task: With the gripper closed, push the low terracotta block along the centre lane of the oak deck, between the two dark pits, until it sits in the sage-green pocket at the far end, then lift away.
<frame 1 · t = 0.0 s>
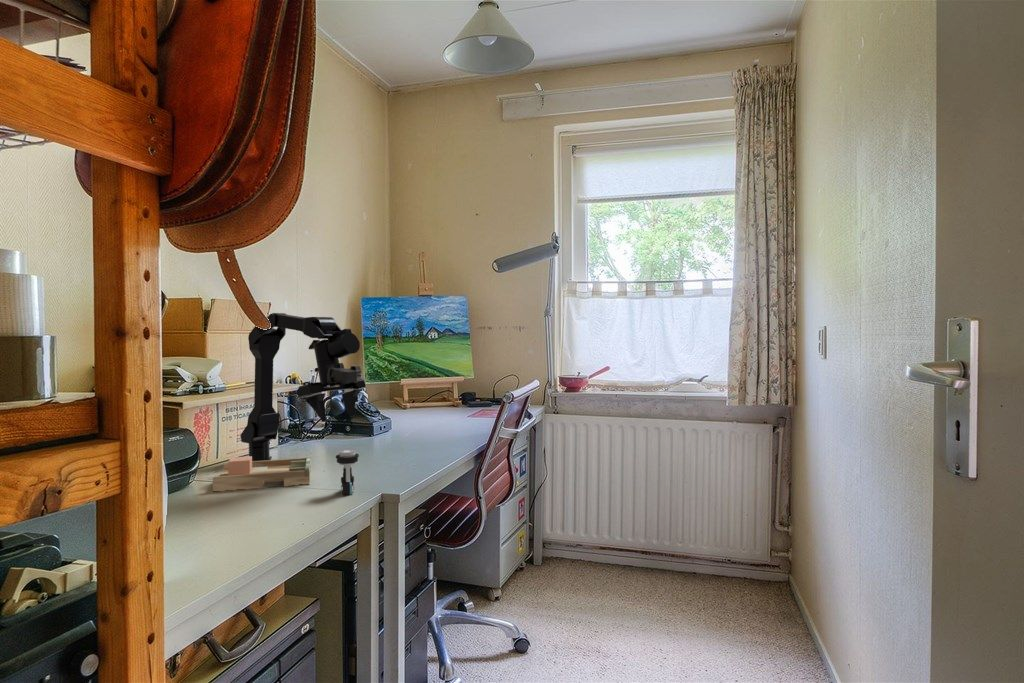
hand: (338, 419, 154), 15 cm above the table, tool pointing down, fingers open, 9 cm apart
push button: (347, 492, 140), on the table
deck: (265, 480, 151), on the table
block: (240, 474, 149), point 2 cm above the table, touching deck
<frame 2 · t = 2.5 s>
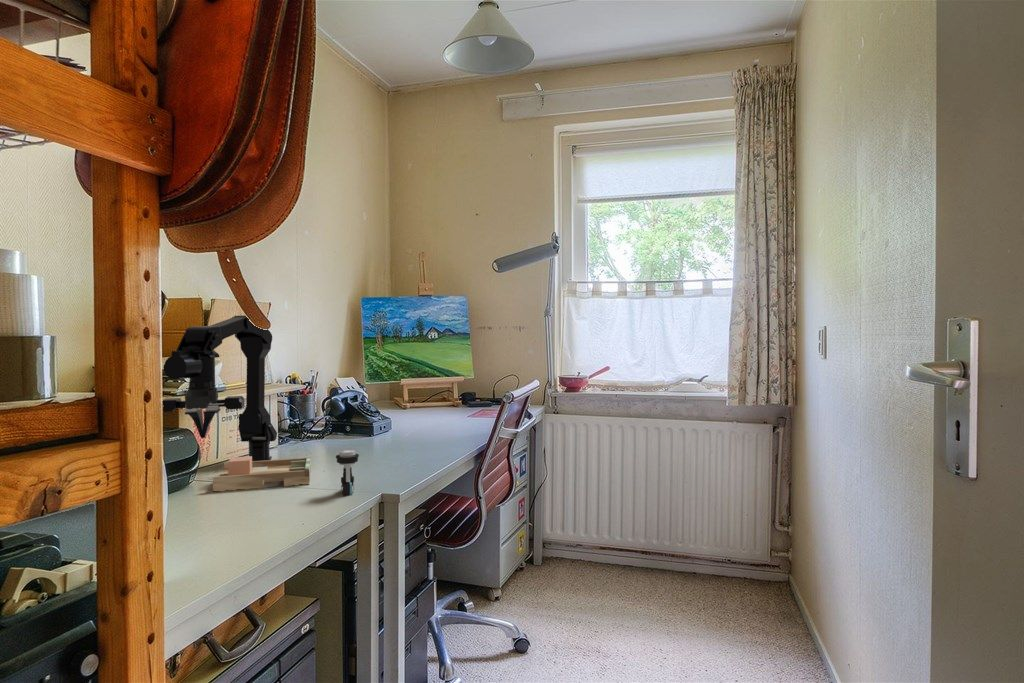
hand: (203, 437, 146), 12 cm above the table, tool pointing down, fingers closed
nothing on the table moved.
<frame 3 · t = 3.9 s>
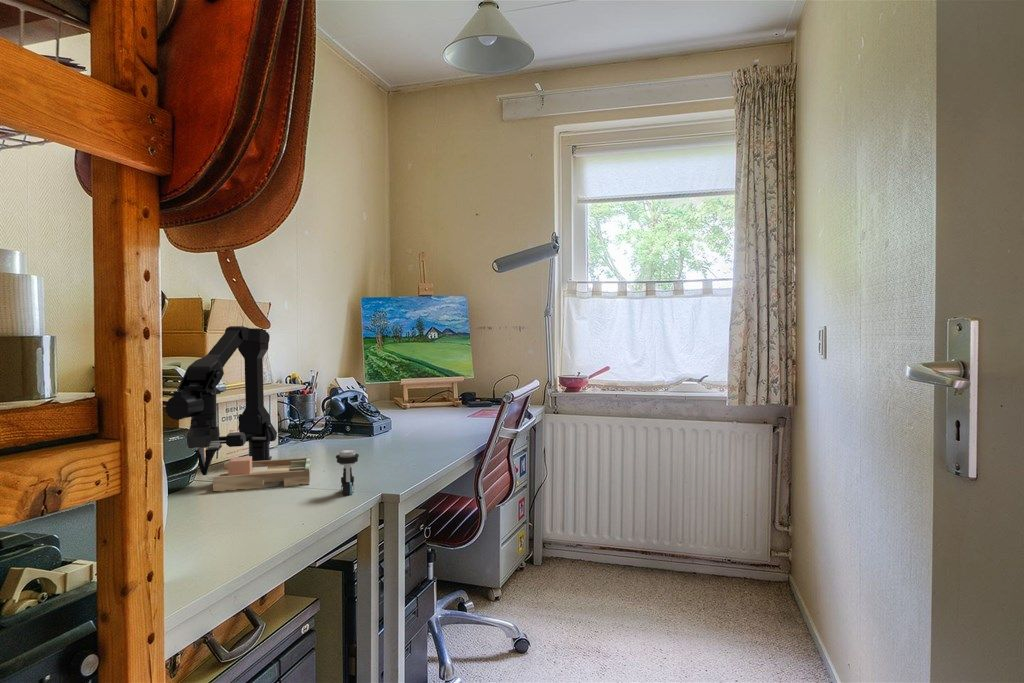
hand: (204, 474, 146), 2 cm above the table, tool pointing down, fingers closed
nothing on the table moved.
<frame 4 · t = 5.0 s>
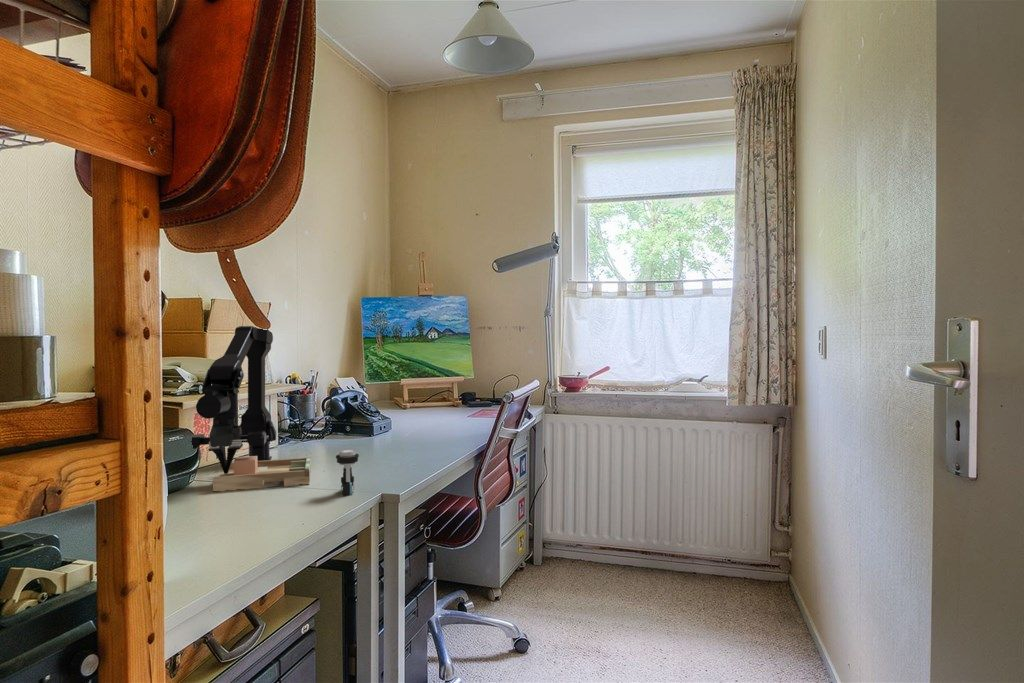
hand: (226, 473, 148), 3 cm above the table, tool pointing down, fingers closed
block: (245, 473, 149), point 2 cm above the table, touching deck, gripper
everything else where it was.
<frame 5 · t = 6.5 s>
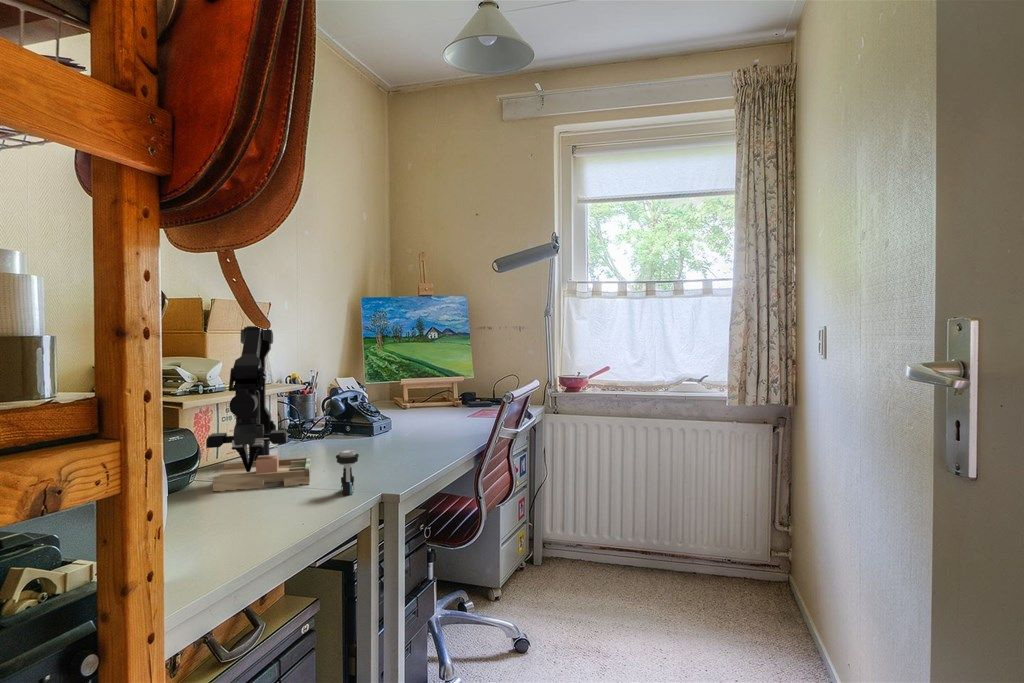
hand: (248, 471, 149), 3 cm above the table, tool pointing down, fingers closed
block: (267, 472, 151), point 2 cm above the table, touching deck, gripper
everything else where it was.
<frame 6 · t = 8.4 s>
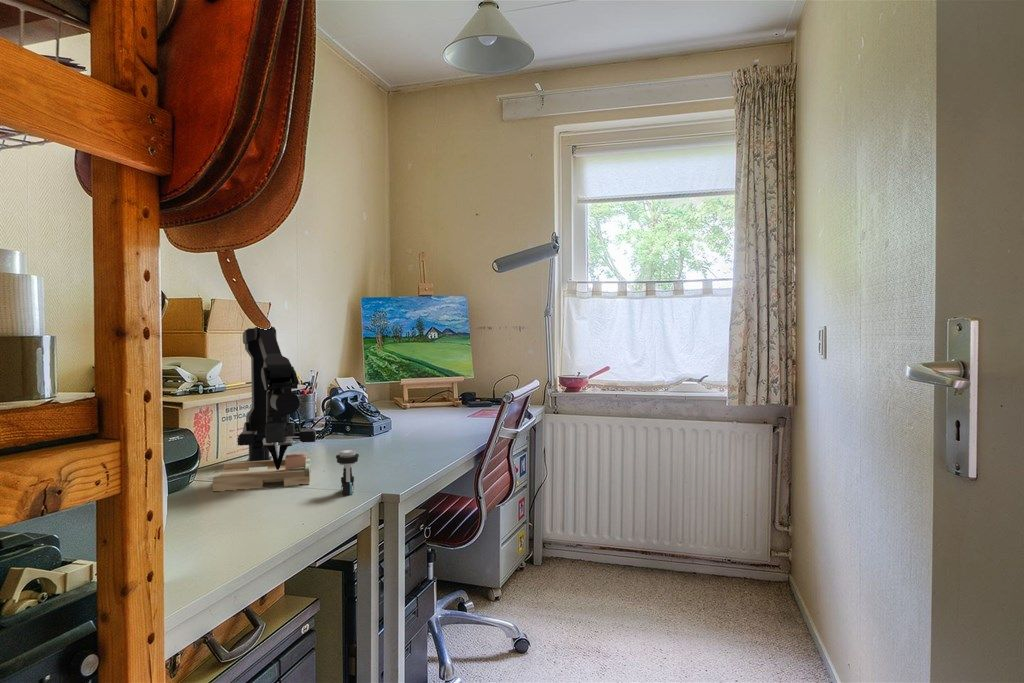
hand: (278, 469, 152), 3 cm above the table, tool pointing down, fingers closed
block: (296, 470, 153), point 2 cm above the table, touching deck, gripper
everything else where it was.
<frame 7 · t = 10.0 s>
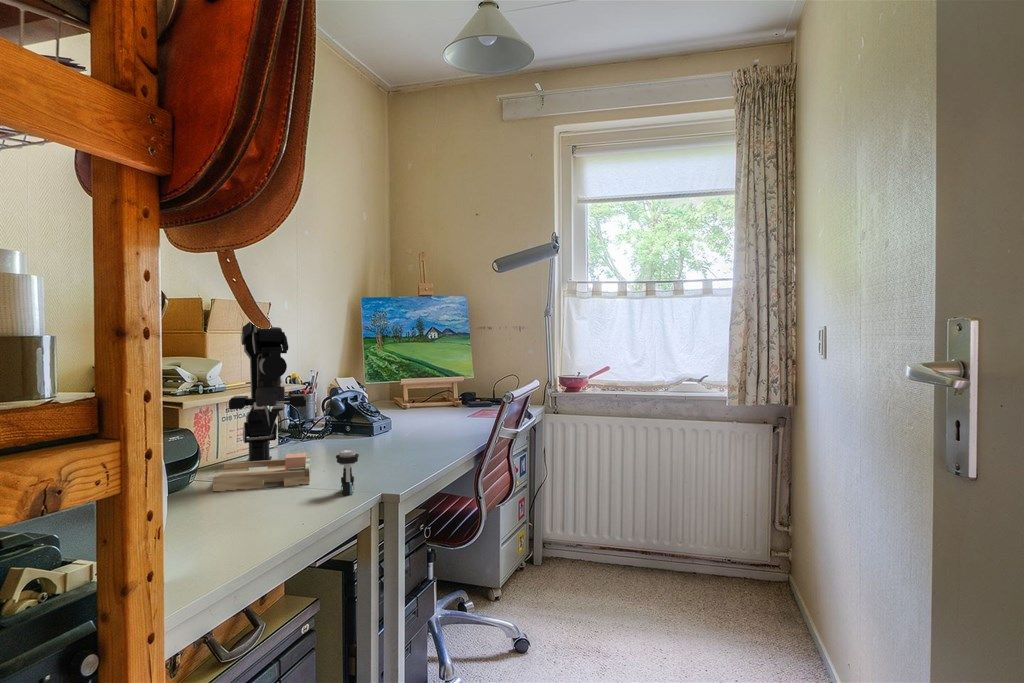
hand: (269, 434, 152), 12 cm above the table, tool pointing down, fingers closed
block: (296, 470, 153), point 2 cm above the table, touching deck
everything else where it was.
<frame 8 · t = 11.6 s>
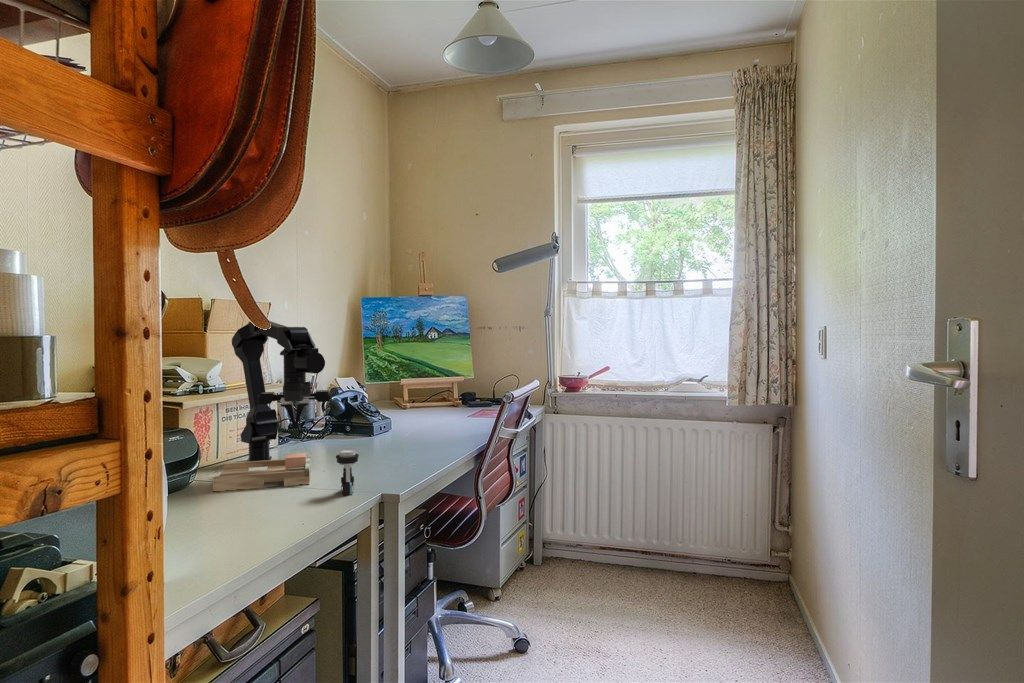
hand: (295, 428, 160), 12 cm above the table, tool pointing down, fingers closed
nothing on the table moved.
at the end: block 0.2 cm from the target spot on the deck, point 2.0 cm above the deck's base; block tilted 0° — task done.
